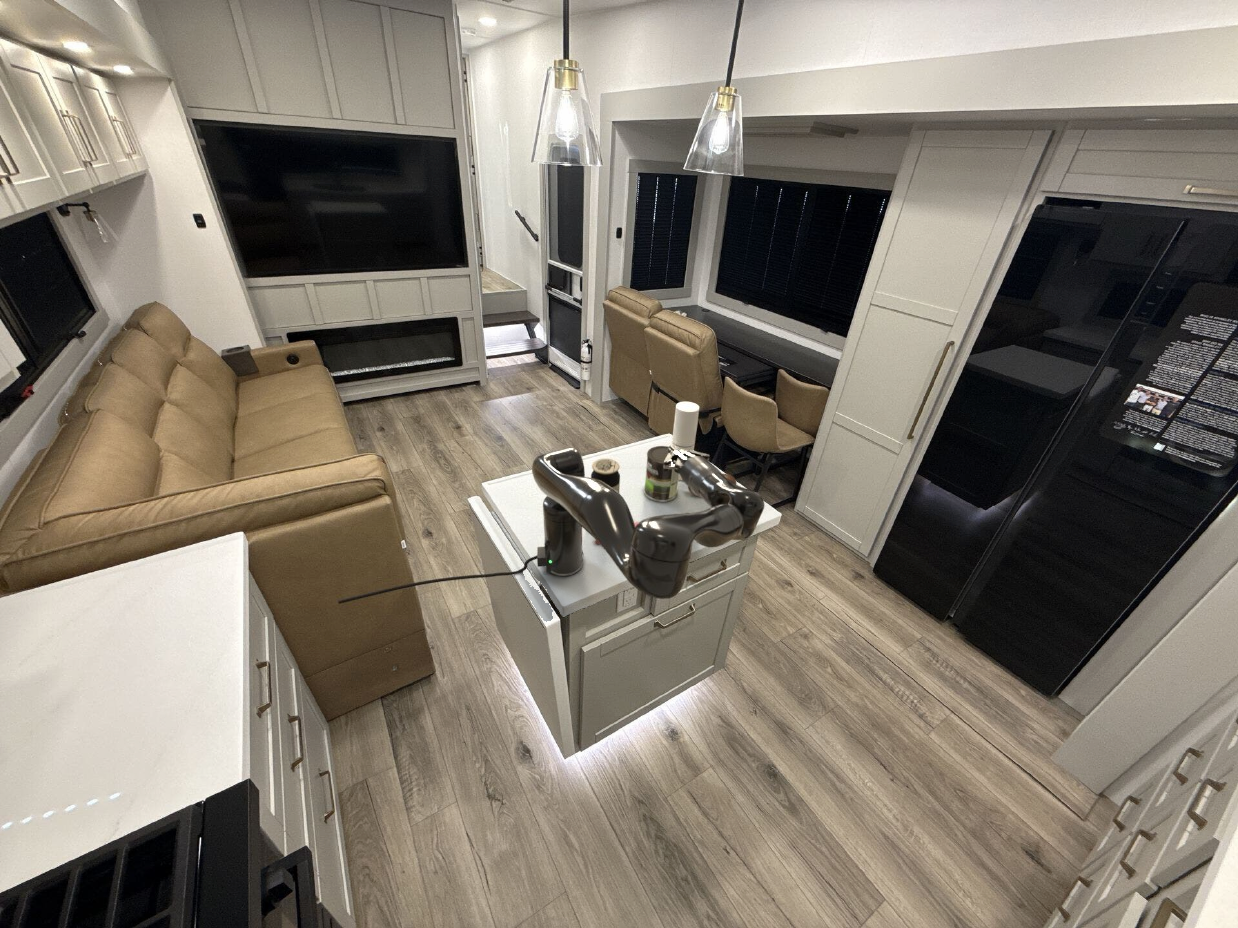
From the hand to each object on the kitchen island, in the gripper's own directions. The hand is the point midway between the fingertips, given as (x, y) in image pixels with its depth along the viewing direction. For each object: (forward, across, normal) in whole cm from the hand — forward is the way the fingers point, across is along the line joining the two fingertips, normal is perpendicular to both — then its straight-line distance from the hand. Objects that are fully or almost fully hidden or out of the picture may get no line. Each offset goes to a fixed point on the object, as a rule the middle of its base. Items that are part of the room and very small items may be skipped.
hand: (671, 448), depth 127 cm
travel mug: (+10, -16, -24) cm, 30 cm away
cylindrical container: (+24, +15, -22) cm, 36 cm away
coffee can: (+16, +5, -23) cm, 29 cm away
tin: (+10, +19, -24) cm, 32 cm away
